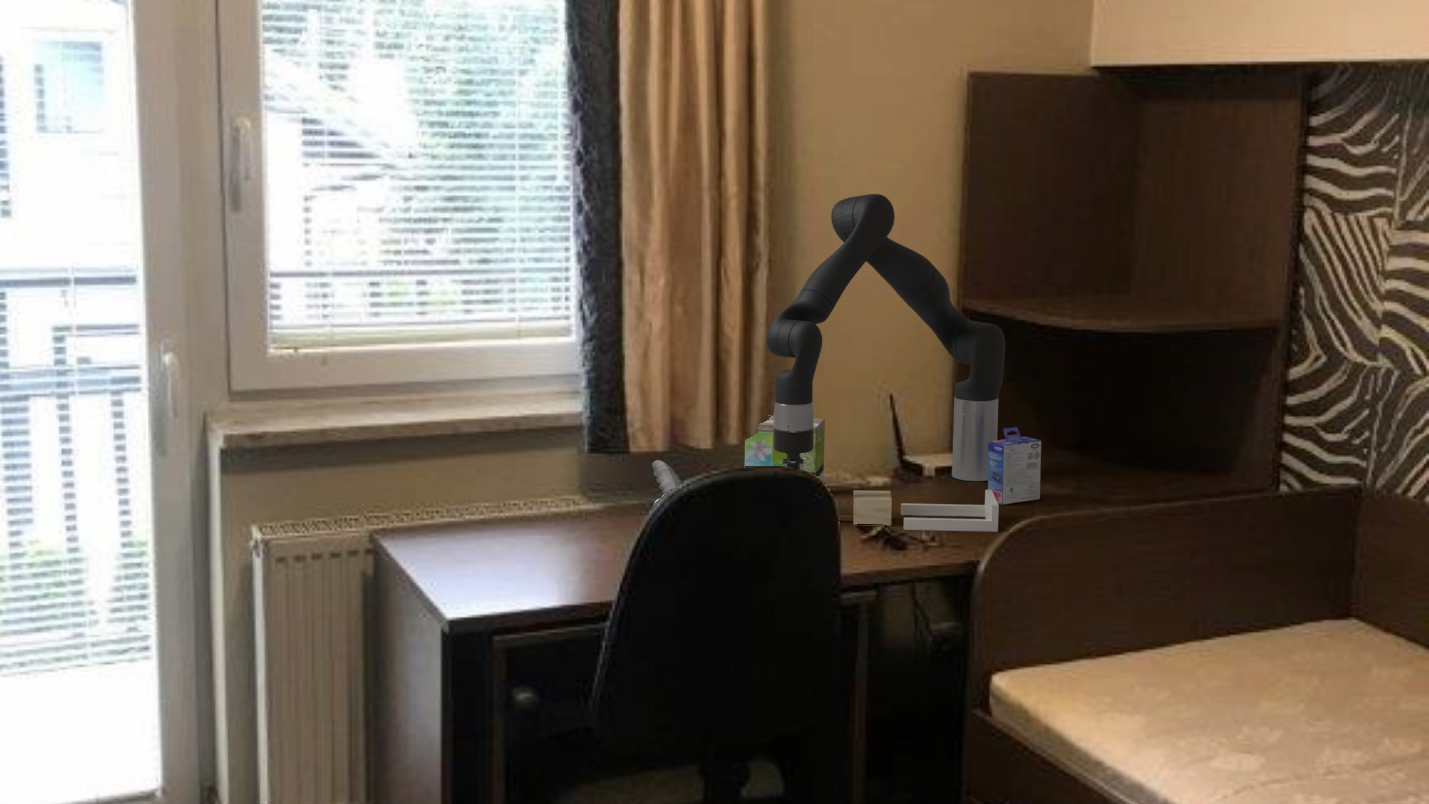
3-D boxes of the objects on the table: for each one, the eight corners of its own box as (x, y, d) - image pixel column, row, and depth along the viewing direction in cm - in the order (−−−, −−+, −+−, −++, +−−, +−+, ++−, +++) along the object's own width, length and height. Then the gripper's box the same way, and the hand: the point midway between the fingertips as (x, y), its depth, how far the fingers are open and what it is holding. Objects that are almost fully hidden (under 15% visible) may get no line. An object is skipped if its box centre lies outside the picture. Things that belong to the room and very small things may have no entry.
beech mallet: (783, 514, 297) (783, 484, 296) (889, 516, 295) (890, 485, 294) (782, 523, 290) (782, 492, 289) (891, 525, 288) (891, 494, 287)
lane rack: (900, 513, 298) (901, 488, 297) (990, 515, 297) (991, 489, 296) (903, 529, 286) (904, 503, 285) (997, 531, 285) (998, 505, 284)
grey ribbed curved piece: (660, 529, 286) (660, 477, 284) (627, 508, 302) (627, 458, 300) (706, 525, 289) (706, 473, 287) (671, 503, 305) (671, 454, 304)
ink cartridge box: (1022, 494, 314) (1025, 424, 312) (1041, 499, 309) (1044, 429, 307) (985, 499, 309) (987, 429, 307) (1003, 505, 305) (1005, 433, 302)
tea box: (743, 493, 315) (743, 422, 312) (753, 482, 324) (754, 413, 322) (816, 497, 311) (817, 425, 308) (824, 486, 321) (825, 416, 318)
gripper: (774, 418, 297) (774, 505, 300) (772, 432, 283) (772, 523, 286) (813, 419, 297) (813, 505, 300) (813, 433, 283) (812, 524, 286)
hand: (793, 513), depth 293 cm, fingers closed on beech mallet, 4 cm apart
